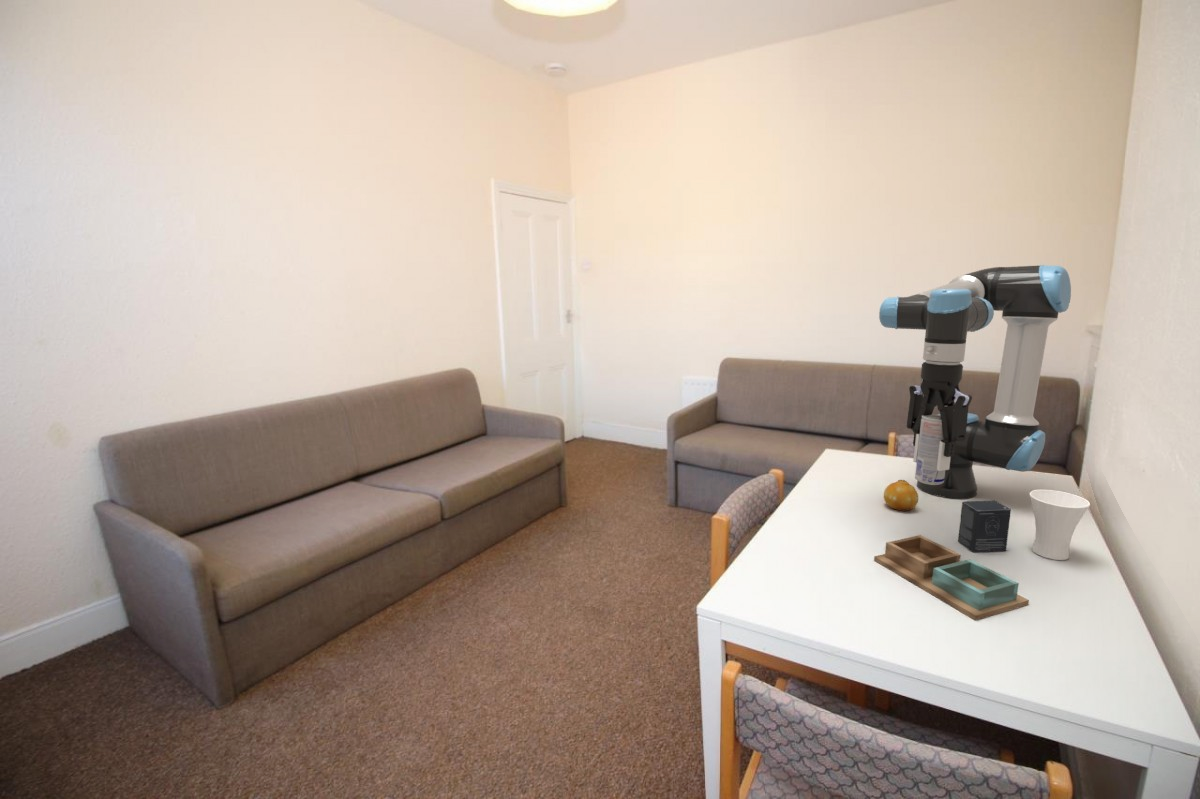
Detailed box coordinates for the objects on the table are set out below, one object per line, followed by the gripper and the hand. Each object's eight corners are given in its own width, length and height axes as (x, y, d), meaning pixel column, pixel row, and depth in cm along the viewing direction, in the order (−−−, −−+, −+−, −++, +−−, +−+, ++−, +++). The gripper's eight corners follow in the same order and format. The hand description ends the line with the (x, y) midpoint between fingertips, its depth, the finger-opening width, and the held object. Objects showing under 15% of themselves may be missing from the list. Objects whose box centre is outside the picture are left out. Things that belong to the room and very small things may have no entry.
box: (989, 540, 131) (994, 499, 129) (1006, 552, 126) (1012, 509, 123) (956, 541, 131) (961, 500, 129) (972, 552, 126) (977, 510, 123)
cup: (1031, 561, 121) (1039, 504, 118) (1014, 540, 131) (1022, 487, 128) (1089, 568, 118) (1100, 510, 115) (1068, 546, 127) (1077, 492, 124)
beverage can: (947, 486, 119) (955, 420, 116) (919, 485, 120) (926, 419, 117) (938, 478, 124) (945, 414, 121) (911, 476, 125) (918, 413, 122)
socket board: (874, 560, 124) (875, 542, 123) (921, 549, 128) (923, 531, 127) (975, 620, 101) (978, 598, 100) (1028, 604, 106) (1031, 583, 105)
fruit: (903, 491, 156) (896, 471, 153) (928, 504, 149) (921, 483, 145) (882, 508, 155) (874, 488, 152) (905, 522, 148) (898, 501, 144)
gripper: (894, 358, 124) (884, 455, 129) (968, 369, 107) (955, 481, 112) (920, 356, 126) (910, 452, 131) (997, 366, 109) (982, 476, 114)
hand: (930, 465), depth 121 cm, fingers closed on beverage can, 5 cm apart
